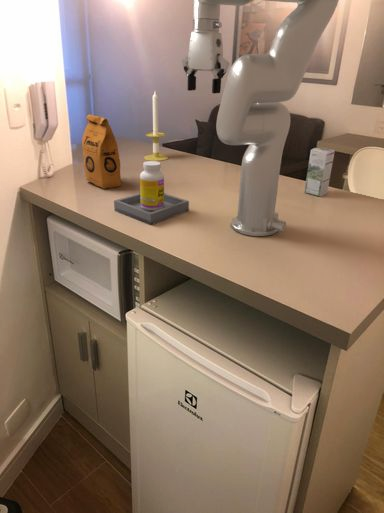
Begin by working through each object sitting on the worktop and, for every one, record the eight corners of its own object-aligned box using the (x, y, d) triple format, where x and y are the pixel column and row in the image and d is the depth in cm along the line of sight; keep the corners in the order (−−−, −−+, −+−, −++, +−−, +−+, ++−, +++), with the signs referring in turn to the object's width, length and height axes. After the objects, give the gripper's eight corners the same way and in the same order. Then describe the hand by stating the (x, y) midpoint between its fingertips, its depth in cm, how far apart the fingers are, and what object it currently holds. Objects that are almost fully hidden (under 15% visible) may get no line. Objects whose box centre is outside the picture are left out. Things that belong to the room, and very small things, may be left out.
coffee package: (99, 191, 134) (93, 120, 124) (82, 181, 143) (75, 114, 133) (125, 186, 140) (122, 118, 130) (108, 177, 148) (103, 112, 138)
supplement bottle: (160, 212, 115) (160, 167, 110) (137, 210, 117) (136, 165, 111) (166, 204, 121) (166, 161, 115) (144, 202, 122) (143, 159, 117)
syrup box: (327, 193, 138) (335, 149, 132) (319, 197, 134) (327, 152, 128) (312, 189, 142) (319, 146, 135) (303, 193, 138) (310, 149, 131)
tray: (188, 210, 120) (188, 201, 119) (150, 225, 110) (150, 214, 109) (152, 198, 129) (152, 189, 128) (114, 210, 119) (113, 200, 118)
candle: (158, 154, 181) (157, 87, 169) (172, 158, 175) (173, 90, 162) (139, 157, 175) (137, 88, 163) (154, 162, 169) (152, 91, 156)
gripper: (238, 27, 115) (234, 93, 123) (191, 27, 125) (190, 88, 133) (221, 26, 110) (218, 95, 118) (174, 26, 120) (174, 90, 128)
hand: (203, 91), depth 126 cm, fingers open, 9 cm apart
